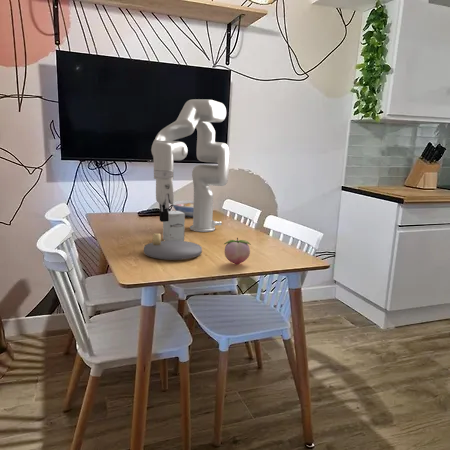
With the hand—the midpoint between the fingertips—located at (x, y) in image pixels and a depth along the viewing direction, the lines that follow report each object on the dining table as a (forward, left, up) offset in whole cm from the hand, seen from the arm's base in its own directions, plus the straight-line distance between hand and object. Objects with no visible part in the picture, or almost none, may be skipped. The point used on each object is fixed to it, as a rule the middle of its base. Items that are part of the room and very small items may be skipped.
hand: (164, 221), depth 159 cm
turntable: (-1, +8, -11) cm, 14 cm away
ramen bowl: (-33, -65, -12) cm, 74 cm away
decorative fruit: (-19, +27, -12) cm, 35 cm away
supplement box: (-7, -12, -12) cm, 18 cm away
